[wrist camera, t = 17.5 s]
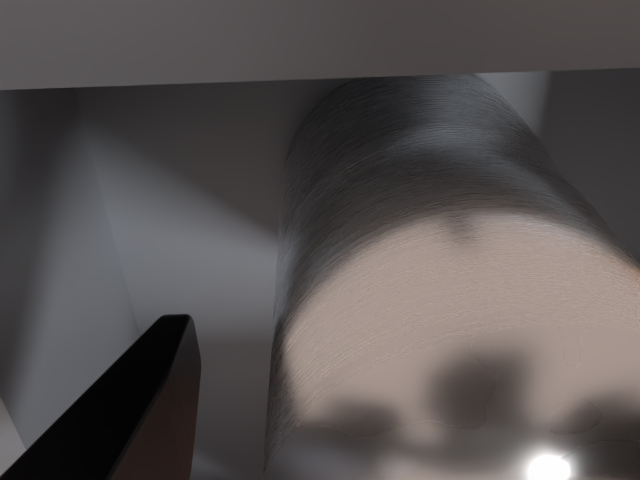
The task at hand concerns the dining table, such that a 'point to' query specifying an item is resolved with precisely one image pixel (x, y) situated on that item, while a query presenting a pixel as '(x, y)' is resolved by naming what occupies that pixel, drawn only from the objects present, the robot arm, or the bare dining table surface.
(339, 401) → the aluminium cylinder
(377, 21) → the tote
